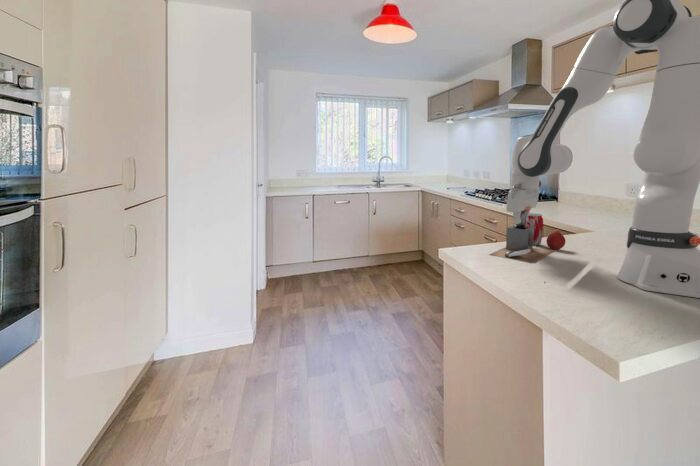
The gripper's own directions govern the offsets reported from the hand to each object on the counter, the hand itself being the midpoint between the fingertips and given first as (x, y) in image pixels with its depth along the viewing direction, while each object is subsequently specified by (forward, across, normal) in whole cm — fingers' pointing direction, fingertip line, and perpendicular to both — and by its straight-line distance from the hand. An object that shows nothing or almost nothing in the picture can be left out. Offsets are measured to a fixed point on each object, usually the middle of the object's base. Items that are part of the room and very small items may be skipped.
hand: (520, 222), depth 122 cm
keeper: (+9, -11, -4) cm, 15 cm away
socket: (+11, 0, 0) cm, 11 cm away
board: (+11, -5, -3) cm, 12 cm away
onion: (+11, +10, -9) cm, 17 cm away
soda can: (+11, +16, +1) cm, 19 cm away
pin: (+3, 0, 0) cm, 3 cm away
